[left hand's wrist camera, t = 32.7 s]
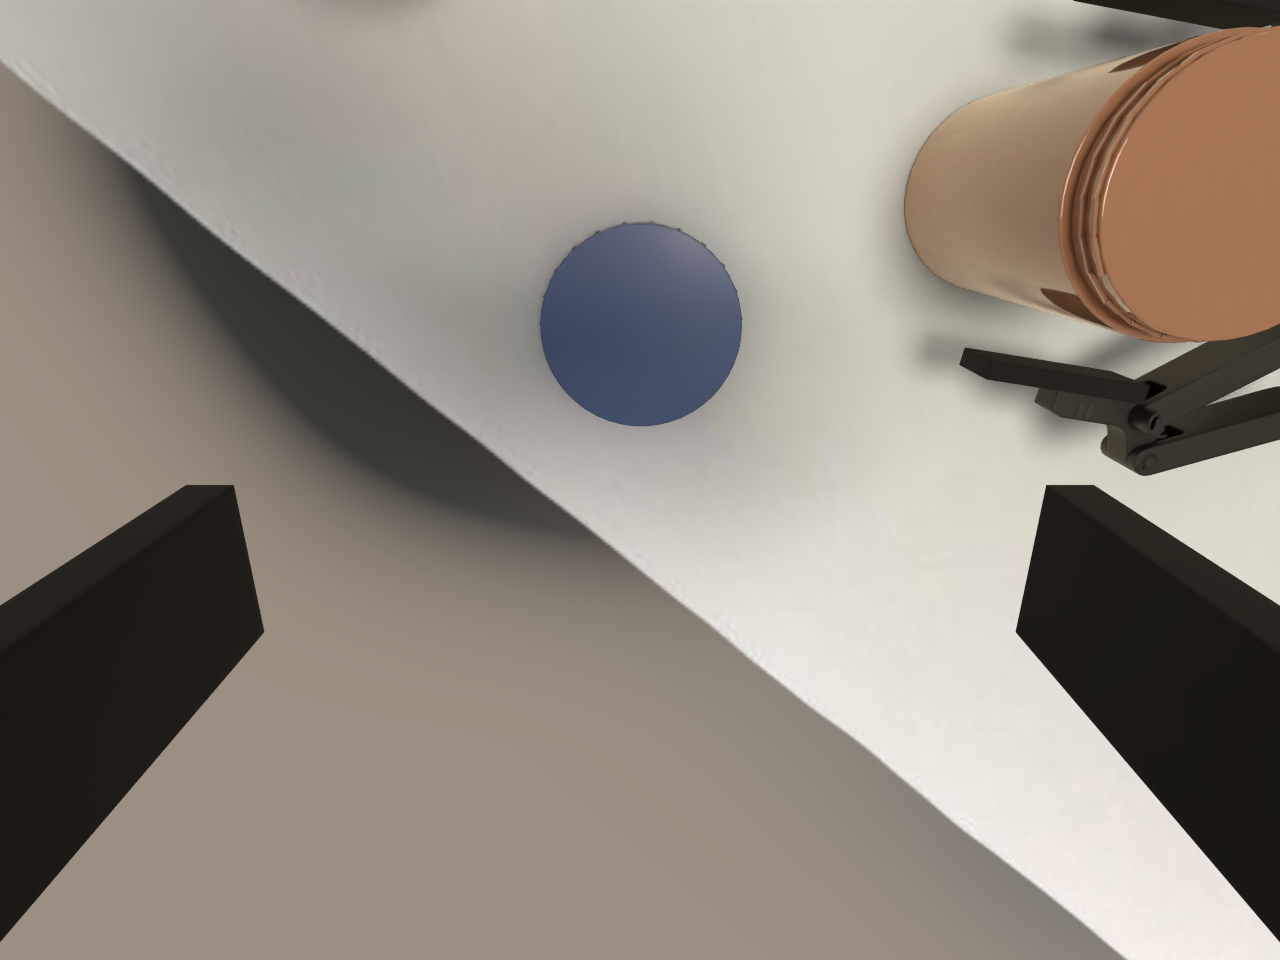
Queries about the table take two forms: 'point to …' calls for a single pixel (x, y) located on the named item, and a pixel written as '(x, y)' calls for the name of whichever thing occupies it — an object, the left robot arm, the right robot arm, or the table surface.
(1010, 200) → the jar
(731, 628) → the table surface
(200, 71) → the table surface
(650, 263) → the lid
